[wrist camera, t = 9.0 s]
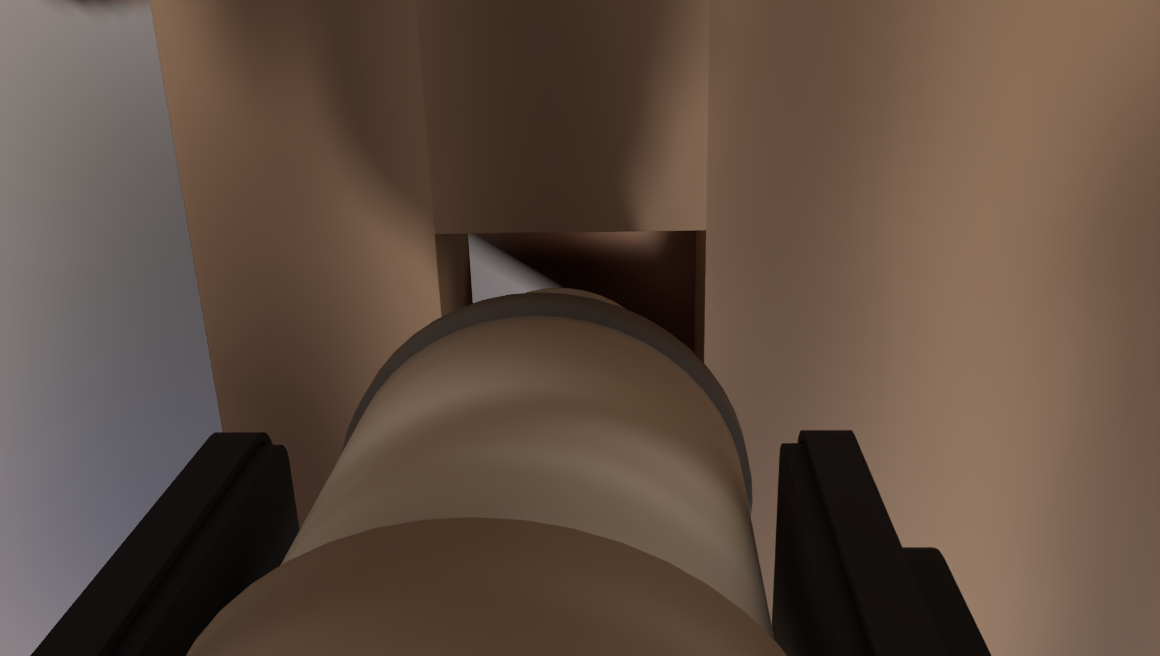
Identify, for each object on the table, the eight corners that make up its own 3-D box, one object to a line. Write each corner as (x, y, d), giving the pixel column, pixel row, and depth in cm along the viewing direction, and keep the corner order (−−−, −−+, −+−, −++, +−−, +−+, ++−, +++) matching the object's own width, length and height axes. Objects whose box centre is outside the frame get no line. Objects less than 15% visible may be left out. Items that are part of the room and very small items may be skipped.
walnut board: (1714, -75, 16) (1934, -75, 14) (1417, 804, 23) (1525, 926, 20) (222, -32, 18) (146, -24, 15) (339, 783, 24) (301, 896, 22)
